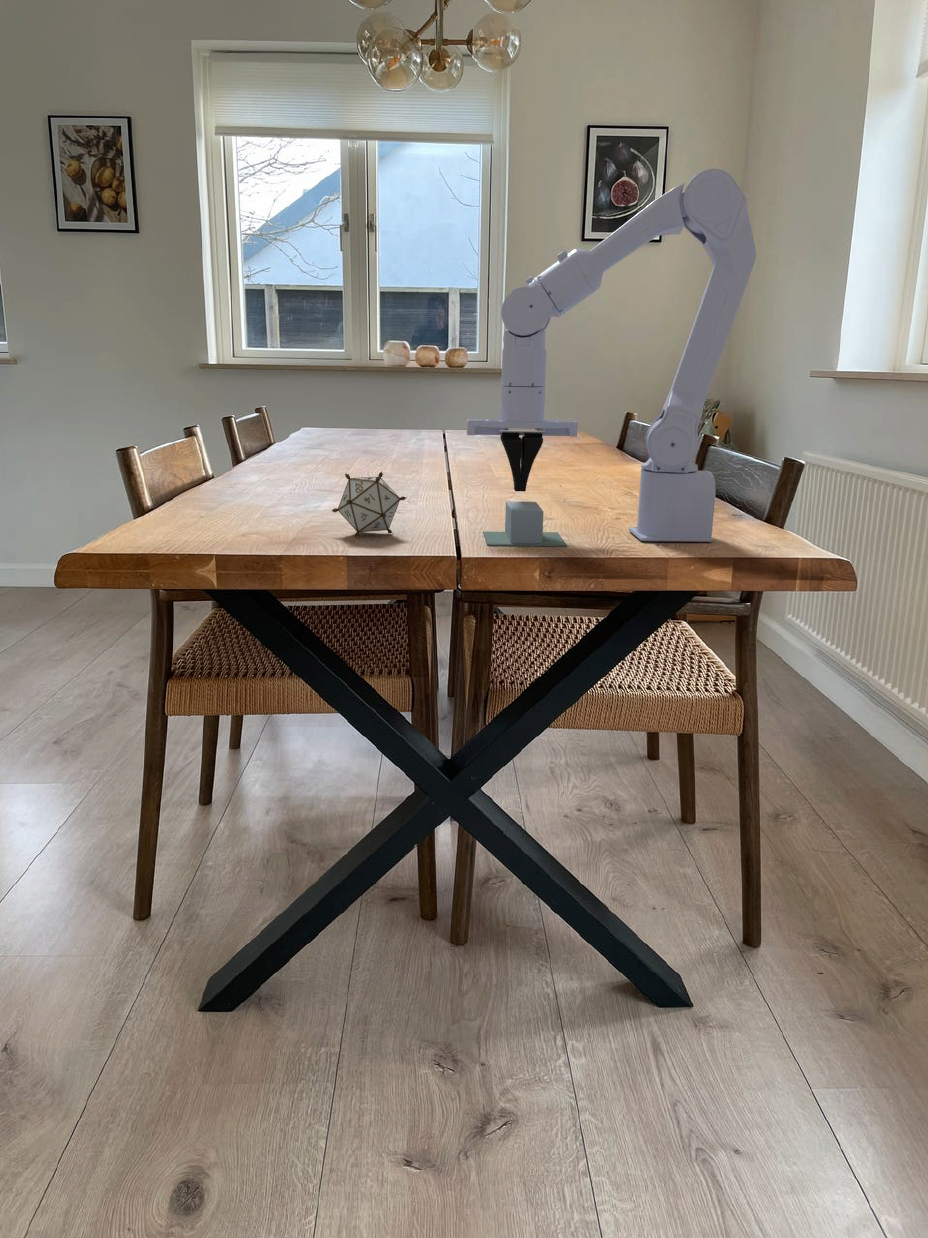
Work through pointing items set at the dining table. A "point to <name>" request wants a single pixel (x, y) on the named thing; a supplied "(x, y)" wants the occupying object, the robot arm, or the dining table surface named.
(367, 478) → the game die
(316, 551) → the dining table surface
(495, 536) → the felt mat
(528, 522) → the slate-blue block
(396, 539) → the dining table surface
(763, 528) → the dining table surface
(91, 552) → the dining table surface
